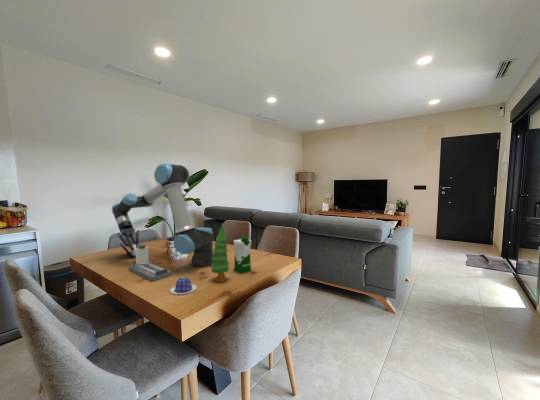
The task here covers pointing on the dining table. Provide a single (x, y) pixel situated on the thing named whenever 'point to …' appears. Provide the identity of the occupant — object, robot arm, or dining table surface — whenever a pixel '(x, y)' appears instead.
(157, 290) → the dining table surface
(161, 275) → the fader track
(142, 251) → the fader tab
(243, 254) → the milk carton
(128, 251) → the game console
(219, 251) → the decorative tree
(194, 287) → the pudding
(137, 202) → the robot arm
